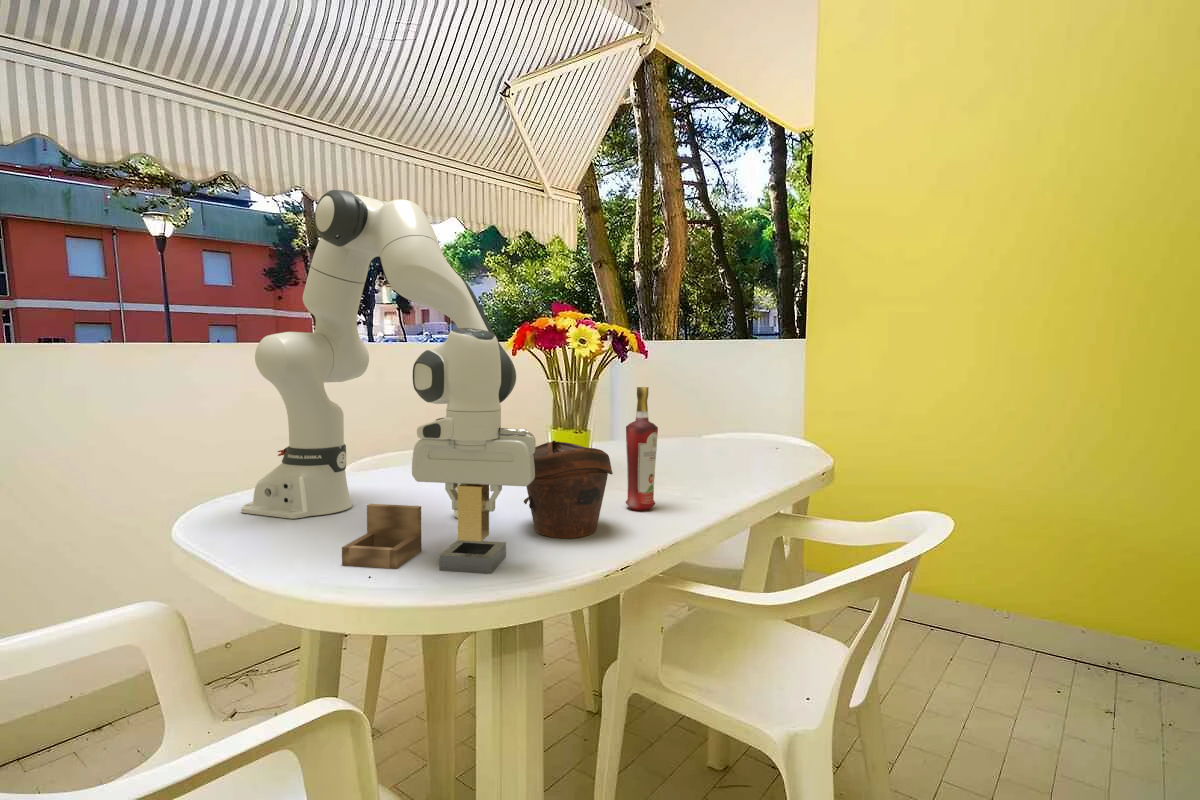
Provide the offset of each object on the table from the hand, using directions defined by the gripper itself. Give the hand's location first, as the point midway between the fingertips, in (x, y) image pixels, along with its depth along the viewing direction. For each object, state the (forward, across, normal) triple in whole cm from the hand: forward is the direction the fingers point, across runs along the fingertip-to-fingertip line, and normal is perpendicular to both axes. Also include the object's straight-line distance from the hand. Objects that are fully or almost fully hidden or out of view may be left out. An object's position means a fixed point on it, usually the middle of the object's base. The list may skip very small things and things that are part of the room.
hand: (473, 510), depth 103 cm
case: (+9, -11, -23) cm, 27 cm away
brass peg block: (+5, 0, 0) cm, 5 cm away
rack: (+9, +16, 0) cm, 18 cm away
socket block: (+9, 0, 0) cm, 9 cm away
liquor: (+9, -25, -43) cm, 51 cm away
